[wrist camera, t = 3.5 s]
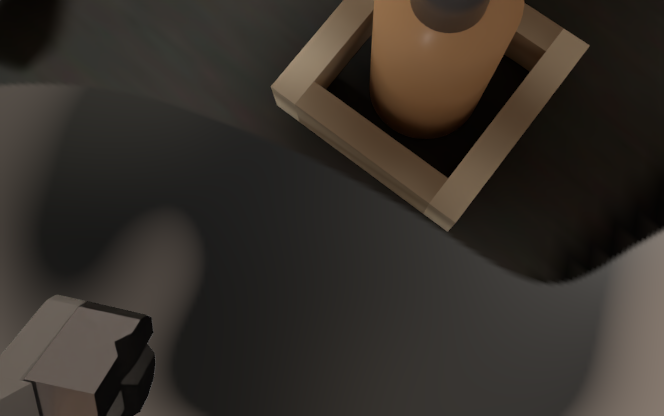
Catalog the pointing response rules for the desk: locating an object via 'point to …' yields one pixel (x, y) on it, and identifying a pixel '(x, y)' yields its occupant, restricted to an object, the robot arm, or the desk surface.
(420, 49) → the plug
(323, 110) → the square wooden frame
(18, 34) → the desk surface
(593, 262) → the desk surface
